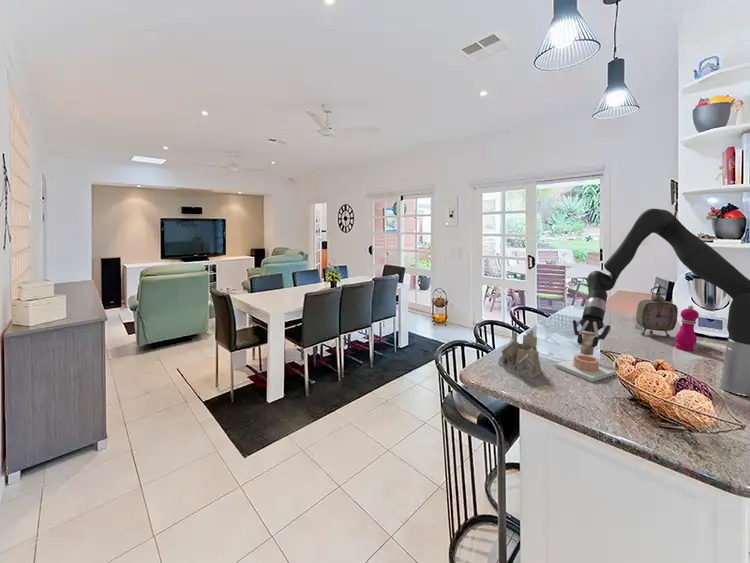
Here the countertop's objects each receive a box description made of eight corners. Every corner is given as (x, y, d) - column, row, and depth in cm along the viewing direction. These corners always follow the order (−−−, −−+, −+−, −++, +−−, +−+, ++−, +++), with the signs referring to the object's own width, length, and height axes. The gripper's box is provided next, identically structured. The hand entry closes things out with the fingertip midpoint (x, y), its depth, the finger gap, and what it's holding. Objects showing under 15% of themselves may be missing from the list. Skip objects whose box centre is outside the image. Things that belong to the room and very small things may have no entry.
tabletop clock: (639, 336, 175) (646, 287, 171) (632, 331, 184) (638, 284, 180) (674, 338, 171) (681, 288, 167) (665, 333, 180) (671, 286, 176)
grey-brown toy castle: (503, 356, 144) (506, 322, 141) (545, 368, 135) (550, 331, 131) (489, 370, 132) (492, 333, 129) (535, 384, 123) (539, 344, 119)
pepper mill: (699, 352, 152) (706, 307, 149) (680, 350, 154) (686, 306, 151) (688, 346, 159) (694, 304, 156) (670, 345, 161) (676, 303, 158)
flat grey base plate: (616, 375, 127) (617, 362, 126) (591, 381, 121) (593, 368, 121) (579, 361, 140) (581, 350, 139) (556, 367, 134) (557, 355, 133)
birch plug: (595, 354, 141) (597, 332, 140) (588, 356, 139) (590, 334, 138) (584, 350, 145) (586, 330, 144) (577, 352, 143) (579, 331, 142)
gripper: (574, 303, 150) (566, 336, 142) (614, 308, 141) (607, 344, 133) (576, 313, 154) (567, 346, 147) (614, 318, 145) (608, 353, 138)
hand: (586, 344), depth 140 cm, fingers closed on birch plug, 4 cm apart
